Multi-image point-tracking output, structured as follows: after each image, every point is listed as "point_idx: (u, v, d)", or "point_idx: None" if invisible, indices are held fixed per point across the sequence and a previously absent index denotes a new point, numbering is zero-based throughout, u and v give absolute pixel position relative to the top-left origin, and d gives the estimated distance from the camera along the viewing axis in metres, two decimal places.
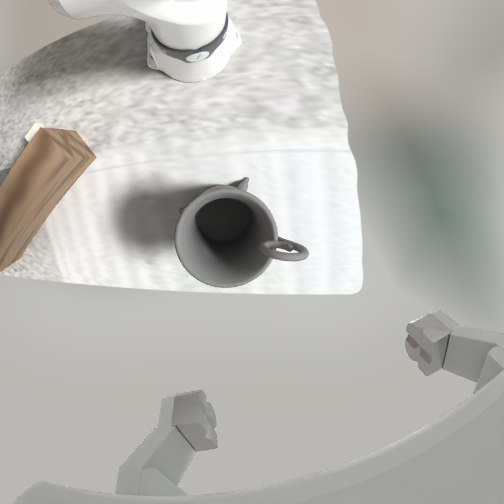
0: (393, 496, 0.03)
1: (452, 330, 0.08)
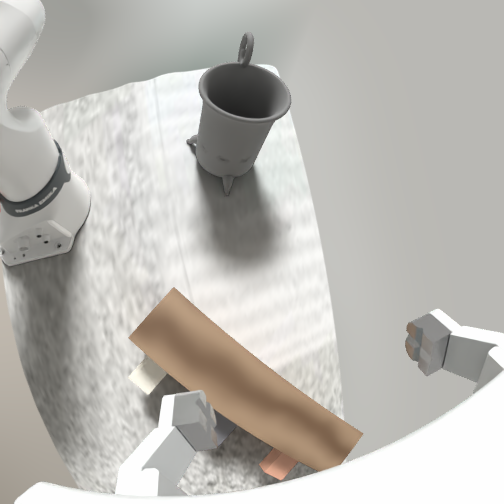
0: (393, 496, 0.03)
1: (452, 330, 0.08)
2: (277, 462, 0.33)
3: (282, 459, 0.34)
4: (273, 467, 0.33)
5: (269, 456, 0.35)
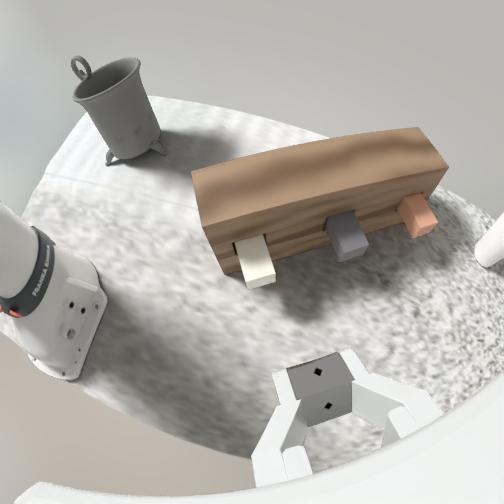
0: (393, 496, 0.03)
1: (356, 377, 0.08)
2: (415, 211, 0.34)
3: (415, 206, 0.34)
4: (419, 218, 0.34)
5: (407, 221, 0.36)
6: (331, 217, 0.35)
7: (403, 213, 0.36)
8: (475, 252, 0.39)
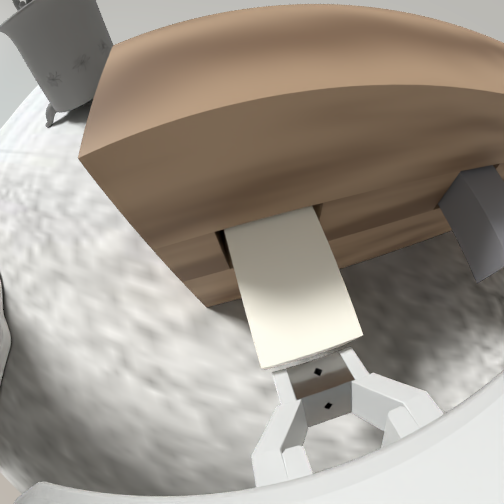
0: (393, 496, 0.03)
1: (355, 377, 0.08)
2: None
3: None
4: None
5: None
6: (466, 174, 0.11)
7: None
8: None
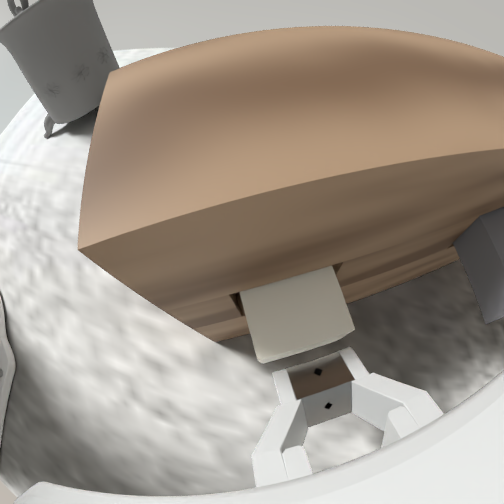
0: (393, 496, 0.03)
1: (356, 377, 0.08)
2: None
3: None
4: None
5: None
6: (484, 216, 0.10)
7: None
8: None
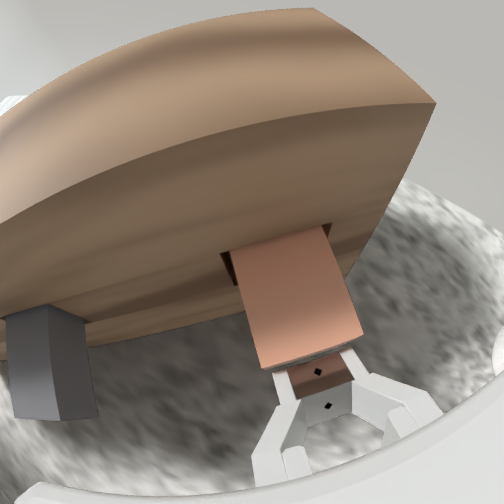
0: (393, 496, 0.03)
1: (355, 377, 0.08)
2: (257, 291, 0.10)
3: (265, 269, 0.10)
4: (268, 321, 0.09)
5: None
6: (10, 318, 0.10)
7: None
8: (494, 358, 0.14)
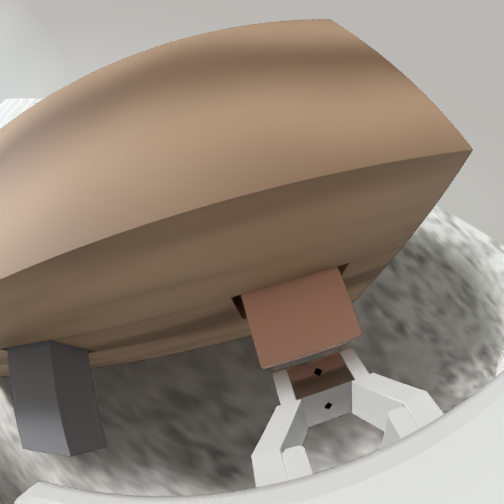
0: (393, 496, 0.03)
1: (355, 377, 0.08)
2: (257, 291, 0.10)
3: None
4: (267, 320, 0.09)
5: None
6: (11, 349, 0.09)
7: None
8: None
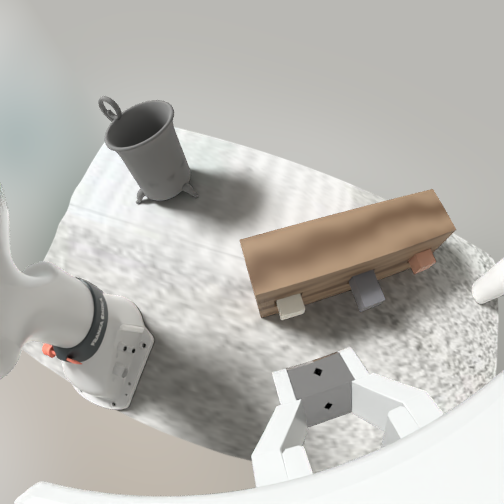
0: (393, 496, 0.03)
1: (355, 377, 0.08)
2: (417, 253, 0.41)
3: None
4: (420, 259, 0.41)
5: (410, 260, 0.43)
6: (356, 276, 0.41)
7: None
8: (472, 291, 0.44)
